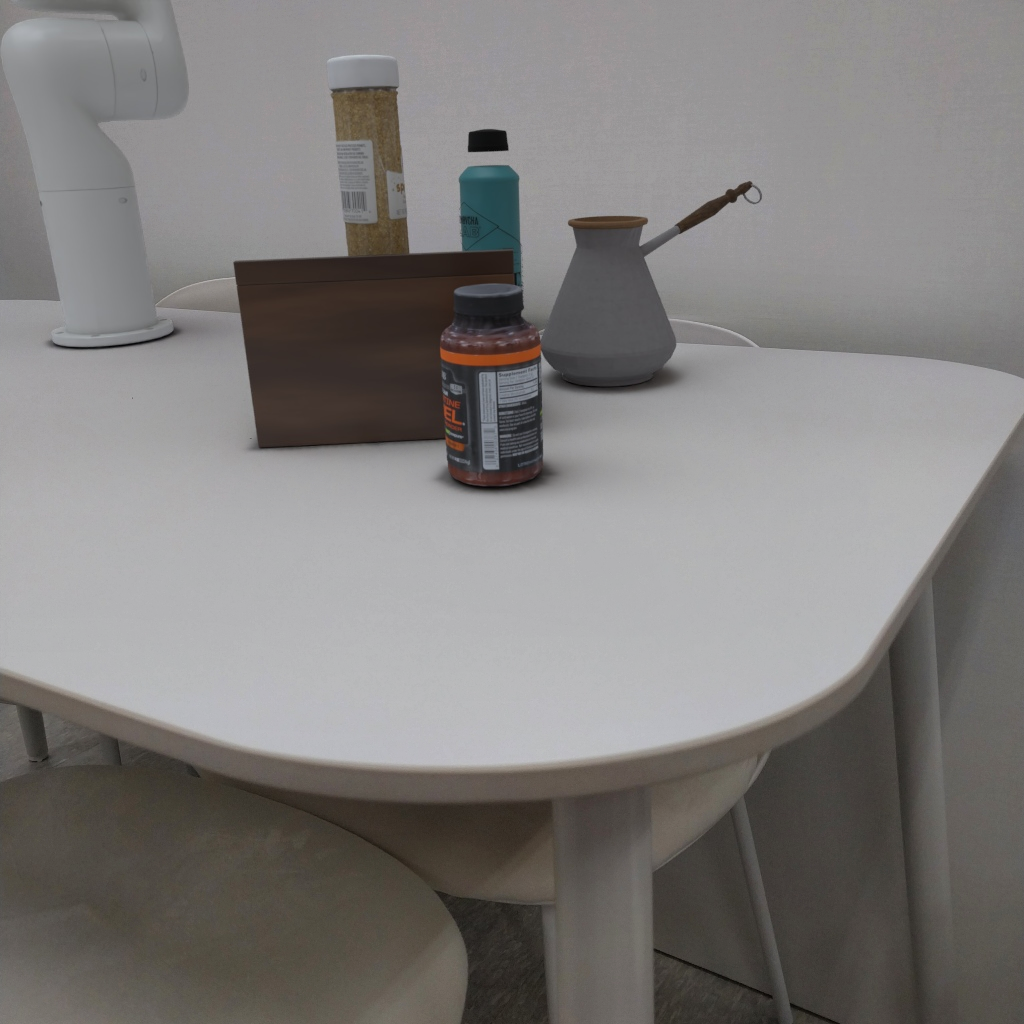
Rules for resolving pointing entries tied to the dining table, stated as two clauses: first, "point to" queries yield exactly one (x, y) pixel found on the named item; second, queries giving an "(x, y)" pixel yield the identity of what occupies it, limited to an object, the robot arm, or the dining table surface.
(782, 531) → the dining table surface
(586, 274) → the coffee pot
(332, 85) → the spice jar
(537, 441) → the supplement bottle
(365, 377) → the shelf
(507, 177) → the beverage bottle
